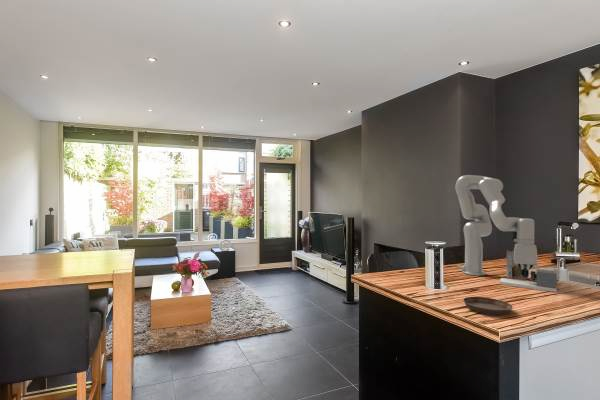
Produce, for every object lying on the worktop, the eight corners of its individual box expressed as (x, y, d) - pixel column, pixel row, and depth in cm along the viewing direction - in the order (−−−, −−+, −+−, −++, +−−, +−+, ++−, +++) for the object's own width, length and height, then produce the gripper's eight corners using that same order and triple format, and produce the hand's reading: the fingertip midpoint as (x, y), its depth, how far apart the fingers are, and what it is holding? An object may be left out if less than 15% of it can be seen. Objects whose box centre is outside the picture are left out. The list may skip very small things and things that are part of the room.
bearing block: (536, 285, 167) (536, 271, 167) (536, 282, 174) (536, 269, 174) (556, 288, 163) (556, 274, 163) (555, 285, 169) (555, 271, 169)
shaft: (530, 281, 170) (530, 271, 170) (530, 279, 174) (530, 270, 174) (558, 285, 163) (559, 275, 163) (558, 283, 168) (558, 273, 168)
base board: (499, 284, 176) (499, 281, 176) (501, 280, 184) (501, 277, 184) (556, 292, 162) (556, 289, 162) (555, 287, 170) (555, 284, 170)
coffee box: (522, 276, 194) (522, 249, 194) (528, 279, 188) (529, 250, 188) (505, 276, 195) (506, 248, 195) (511, 278, 189) (512, 250, 189)
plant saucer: (479, 300, 148) (480, 294, 148) (521, 313, 133) (522, 305, 133) (453, 306, 140) (454, 299, 140) (495, 320, 124) (495, 312, 124)
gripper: (508, 241, 175) (507, 276, 175) (543, 243, 166) (543, 280, 166) (509, 240, 181) (508, 273, 181) (543, 242, 172) (542, 277, 172)
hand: (525, 276), depth 173 cm, fingers closed
